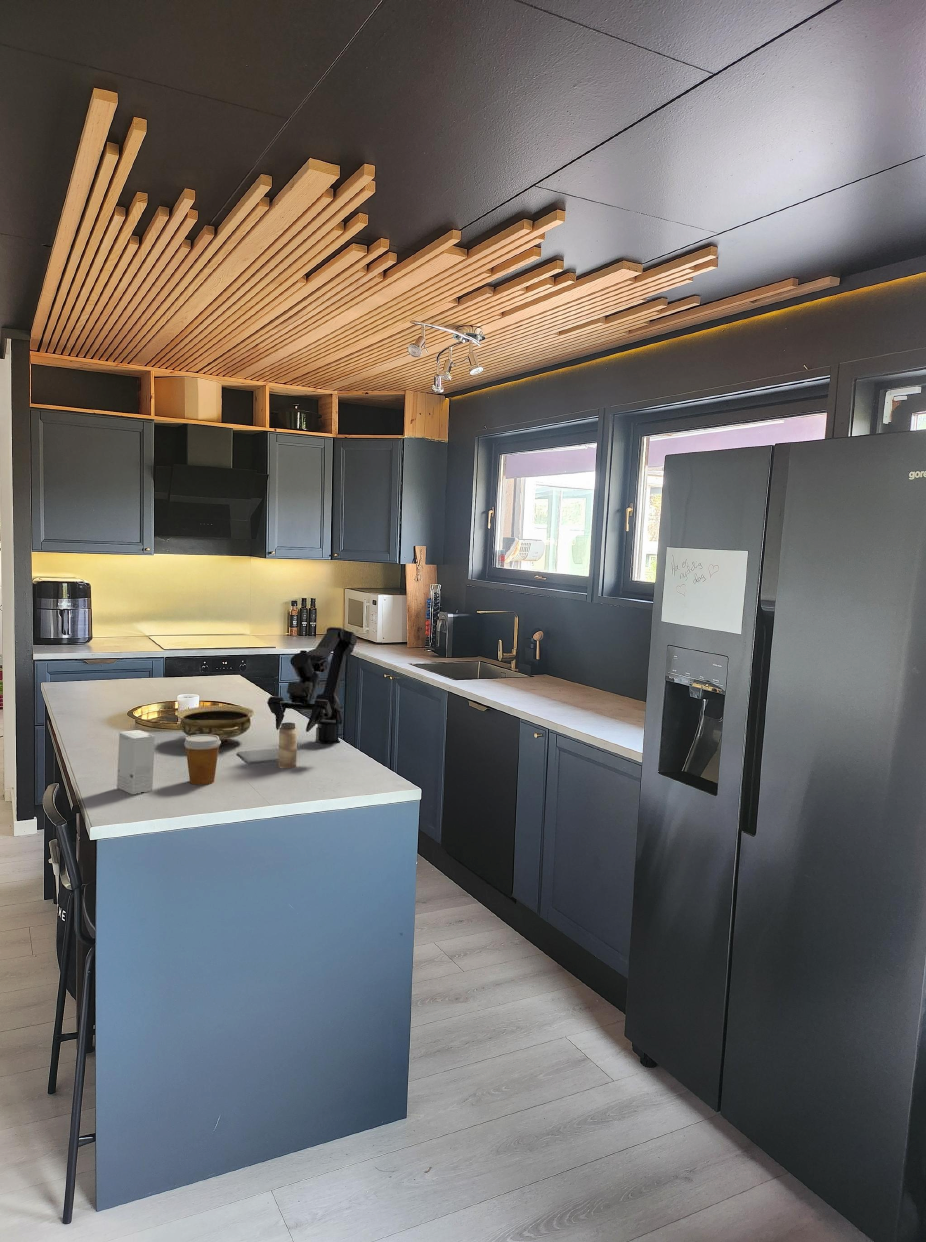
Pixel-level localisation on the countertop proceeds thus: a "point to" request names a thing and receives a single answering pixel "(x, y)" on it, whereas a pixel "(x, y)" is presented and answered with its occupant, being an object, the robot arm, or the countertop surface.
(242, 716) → the gold ornate bowl
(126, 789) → the skincare box
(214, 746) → the disposable coffee cup
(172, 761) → the countertop surface
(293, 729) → the oak pepper mill
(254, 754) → the slate tile
